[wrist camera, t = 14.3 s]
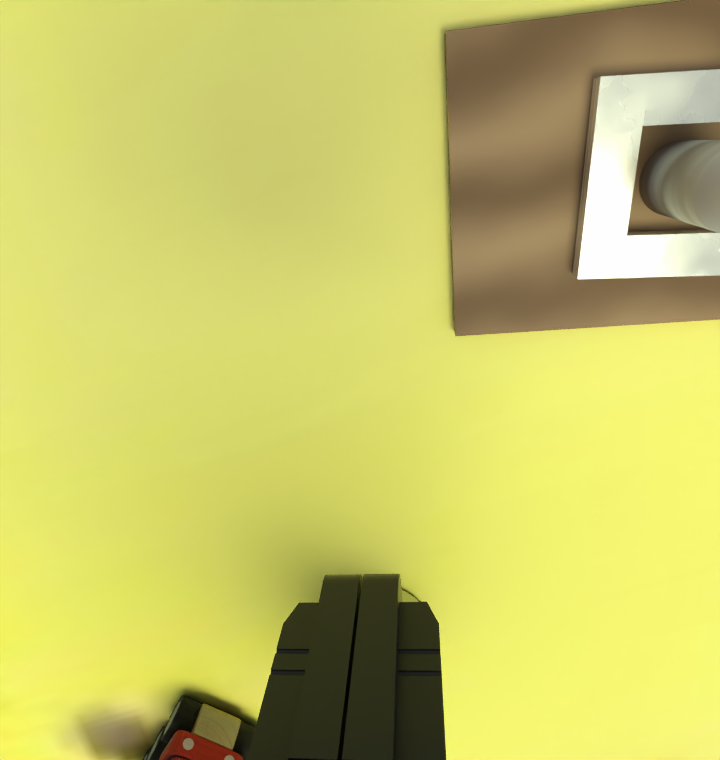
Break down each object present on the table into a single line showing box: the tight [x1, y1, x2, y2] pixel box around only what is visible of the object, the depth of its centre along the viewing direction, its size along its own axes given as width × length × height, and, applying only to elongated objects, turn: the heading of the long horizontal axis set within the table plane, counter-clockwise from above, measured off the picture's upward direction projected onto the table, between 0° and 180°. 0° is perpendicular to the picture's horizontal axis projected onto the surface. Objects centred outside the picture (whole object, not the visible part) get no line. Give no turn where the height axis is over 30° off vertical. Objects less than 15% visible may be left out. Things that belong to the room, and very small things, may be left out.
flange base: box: [445, 0, 720, 336], centre depth 28 cm, size 17×25×8 cm
